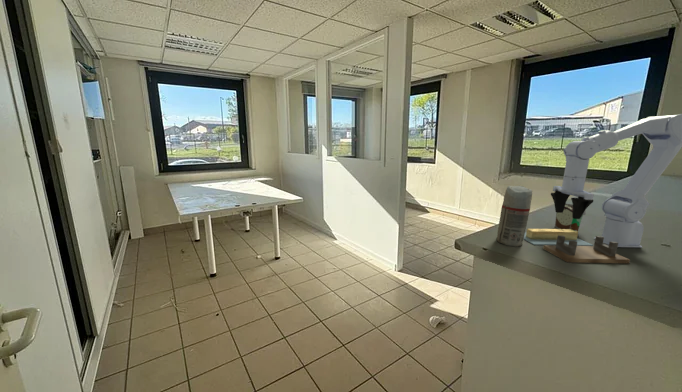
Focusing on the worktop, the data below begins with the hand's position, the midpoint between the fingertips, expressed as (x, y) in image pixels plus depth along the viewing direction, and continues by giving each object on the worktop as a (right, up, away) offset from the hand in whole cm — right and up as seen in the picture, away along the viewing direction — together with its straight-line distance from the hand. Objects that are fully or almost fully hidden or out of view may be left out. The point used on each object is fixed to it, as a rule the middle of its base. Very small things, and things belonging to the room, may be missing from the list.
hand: (567, 215), depth 94 cm
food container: (+13, -7, +13) cm, 20 cm away
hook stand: (-3, -12, -10) cm, 16 cm away
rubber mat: (-3, -9, +4) cm, 10 cm away
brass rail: (-3, -7, +4) cm, 8 cm away
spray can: (-20, -10, +1) cm, 22 cm away
